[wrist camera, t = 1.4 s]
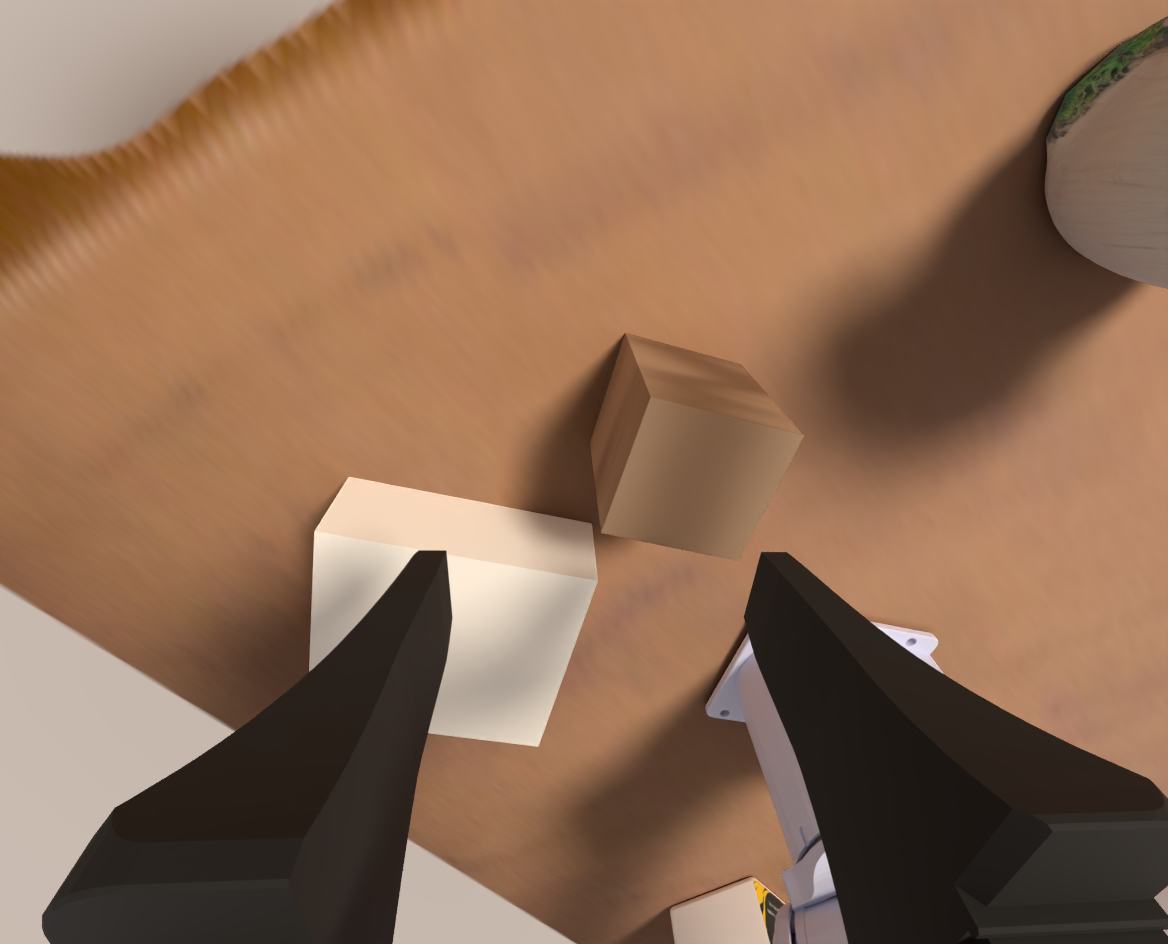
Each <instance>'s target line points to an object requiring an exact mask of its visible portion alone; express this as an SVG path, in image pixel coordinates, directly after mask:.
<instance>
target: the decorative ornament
mask: <svg viewBox="0 0 1168 944" xmlns="http://www.w3.org/2000/svg"><path fill="white" fill-rule="evenodd" d="M1046 146H1047V169H1046V177H1045V197H1046V202H1047V206H1048V210H1049V213H1050V215H1051V218H1052V221H1053V223H1054V225H1055V227H1056V228H1057V230H1058V232H1059V233H1060V234H1061V235H1062V237H1063V238H1064V239H1065V240H1066V242H1067V243H1068V244H1069V245H1070V246H1071V247H1072V248H1074V249H1075V250H1076V251H1077V252H1079V253H1080V254H1081V255H1083V256H1084V257H1086V258H1088V259H1089V260H1091V261H1092V262H1094V263H1096V264H1098V265H1100V266H1102V267H1104V268H1106V269H1108V270H1110V271H1112V272H1115V273H1117V274H1119V275H1121V276H1124V277H1127V278H1130V279H1133V280H1136V281H1140V282H1143V283H1147V284H1150V285H1154V286H1158V287H1163V288H1167V289H1168V17H1166V18H1164V19H1162V20H1160V21H1158V22H1157V23H1155V24H1153V25H1151V26H1150V27H1148V28H1147V29H1145V30H1144V31H1142V32H1140V33H1139V34H1137V35H1136V36H1134V37H1133V38H1131V39H1129V40H1128V41H1125V42H1122V43H1121V44H1120V45H1119V46H1118V47H1117V48H1116V49H1115V50H1114V51H1113V52H1112V53H1110V54H1109V55H1108V56H1107V57H1106V58H1105V59H1104V60H1103V61H1102V62H1101V63H1100V64H1098V65H1097V66H1096V67H1095V68H1094V69H1093V70H1092V71H1091V72H1090V73H1089V74H1087V75H1086V76H1085V77H1084V78H1083V79H1082V80H1081V81H1080V82H1079V83H1078V84H1077V85H1076V86H1075V87H1073V88H1072V89H1071V90H1070V91H1069V92H1068V93H1067V94H1066V95H1065V97H1064V100H1063V102H1062V104H1061V106H1060V109H1059V111H1058V113H1057V115H1056V118H1055V120H1054V122H1053V124H1052V127H1051V129H1050V131H1049V133H1048V136H1047V138H1046Z"/></svg>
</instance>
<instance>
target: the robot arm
mask: <svg viewBox="0 0 1168 944" xmlns="http://www.w3.org/2000/svg"><path fill="white" fill-rule="evenodd" d="M452 619H453V617H452V606H451V595H450V584H449V573H448V563H447V552H446V550H418V551H417V552H416V553H415V554H414V555H413V556H412V558H411V559H410V560H409V562H408V563H407V564H406V566H405V567H404V568H403V570H402V571H401V572H400V574H399V575H398V576H397V578H396V579H395V580H394V581H393V583H392V584H391V585H390V586H389V588H388V589H387V590H386V591H385V593H384V594H383V595H382V596H381V597H380V599H379V600H378V601H377V602H376V603H375V604H374V606H373V607H372V608H371V609H370V610H369V612H368V613H367V614H366V615H365V616H364V617H363V618H362V620H361V621H360V622H359V623H358V624H357V625H356V626H355V627H354V628H353V629H352V630H351V631H350V632H349V633H348V634H347V635H346V637H345V638H344V639H343V640H342V641H341V642H340V643H339V644H338V645H337V646H336V647H335V648H334V649H333V650H332V651H331V652H330V653H329V654H328V655H327V656H326V657H325V658H324V659H323V660H322V661H321V662H320V663H319V664H317V665H316V666H315V667H314V668H313V669H312V670H311V671H310V672H309V673H308V674H306V675H305V676H304V677H303V678H302V679H301V680H300V681H299V682H298V683H296V684H295V685H294V686H293V687H292V688H290V689H289V690H288V691H287V692H286V693H284V694H283V695H282V696H281V697H280V698H278V699H277V700H276V701H275V702H273V703H272V704H271V705H270V706H269V707H267V708H266V709H265V710H263V711H262V712H261V713H260V714H258V715H257V716H256V717H255V718H253V719H252V720H251V721H249V722H248V723H247V724H245V725H244V726H242V727H241V728H240V729H238V730H237V731H235V732H234V733H233V734H231V735H230V736H228V737H227V738H225V739H224V740H223V741H222V742H220V743H218V744H217V745H215V746H214V747H213V748H211V749H210V750H208V751H207V752H205V753H204V754H202V755H201V756H199V757H198V758H196V759H195V760H193V761H191V762H190V763H188V764H187V765H185V766H184V767H182V768H181V769H179V770H178V771H176V772H174V773H172V774H171V775H169V776H168V777H166V778H164V779H162V780H161V781H159V782H158V783H156V784H154V785H153V786H151V787H149V788H148V789H146V790H144V791H143V792H141V793H140V794H138V795H136V796H134V797H133V798H131V799H130V800H128V801H126V802H124V803H123V804H121V805H119V806H117V807H115V809H114V810H113V811H112V812H111V814H110V815H109V817H108V818H107V819H106V821H105V822H104V823H103V824H102V826H101V827H100V828H99V830H98V831H97V833H96V834H95V835H94V836H93V838H92V839H91V841H90V842H89V844H88V845H87V847H86V849H85V850H84V851H83V853H82V855H81V856H80V858H79V859H78V861H77V862H76V864H75V866H74V867H73V868H72V870H71V871H70V873H69V875H68V876H67V878H66V879H65V881H64V882H63V884H62V885H61V887H60V888H59V890H58V892H57V893H56V895H55V896H54V898H53V899H52V901H51V902H50V904H49V906H48V907H47V909H46V910H45V912H44V913H43V915H42V929H43V932H44V934H45V936H46V938H47V939H48V941H49V942H50V944H392V942H393V935H394V928H395V921H396V914H397V906H398V899H399V892H400V885H401V878H402V871H403V864H404V858H405V851H406V845H407V838H408V832H409V825H410V819H411V813H412V807H413V801H414V794H415V788H416V782H417V776H418V772H419V767H420V763H421V758H422V754H423V750H424V746H425V742H426V738H427V735H428V731H429V727H430V723H431V719H432V716H433V712H434V708H435V704H436V700H437V696H438V693H439V689H440V685H441V681H442V677H443V673H444V669H445V665H446V661H447V655H448V648H449V641H450V634H451V626H452ZM744 619H745V623H746V627H747V631H748V633H747V635H746V637H745V639H744V640H743V642H742V644H741V645H740V647H739V649H738V651H737V652H736V654H735V656H734V657H733V659H732V661H731V663H730V664H729V666H728V668H727V669H726V671H725V673H724V675H723V676H722V678H721V680H720V682H719V683H718V685H717V687H716V688H715V690H714V692H713V694H712V695H711V697H710V699H709V700H708V702H707V704H706V706H705V709H706V712H707V715H708V716H710V717H713V718H720V719H726V720H733V721H740V722H746V725H747V728H748V731H749V734H750V737H751V739H752V742H753V745H754V748H755V751H756V754H757V757H758V760H759V763H760V766H761V769H762V772H763V775H764V778H765V781H766V784H767V787H768V790H769V793H770V796H771V799H772V802H773V805H774V808H775V811H776V814H777V817H778V820H779V822H780V825H781V828H782V831H783V834H784V837H785V840H786V843H787V846H788V849H789V852H790V855H791V858H792V861H793V864H794V866H793V867H791V868H789V869H787V870H784V871H783V872H782V877H783V880H784V883H785V886H786V890H787V893H788V896H789V899H790V902H791V903H787V904H784V905H783V906H782V907H781V908H780V909H779V910H778V912H777V915H776V920H775V932H774V936H773V944H1168V936H1167V935H1166V934H1165V932H1164V931H1163V930H1164V929H1166V930H1167V929H1168V915H1167V914H1166V913H1165V911H1164V910H1163V909H1162V908H1161V906H1160V905H1159V904H1158V903H1157V901H1156V900H1155V899H1154V897H1155V896H1156V895H1157V894H1158V893H1159V892H1161V891H1162V890H1163V889H1164V888H1166V887H1167V886H1168V798H1167V797H1166V796H1165V795H1164V794H1163V793H1162V792H1161V791H1160V790H1159V788H1158V787H1157V786H1156V785H1155V784H1154V783H1153V782H1152V781H1151V780H1150V779H1148V778H1146V777H1143V776H1141V775H1139V774H1137V773H1134V772H1132V771H1130V770H1128V769H1125V768H1123V767H1121V766H1118V765H1116V764H1114V763H1112V762H1109V761H1107V760H1105V759H1103V758H1100V757H1098V756H1096V755H1094V754H1091V753H1089V752H1087V751H1084V750H1082V749H1080V748H1078V747H1076V746H1074V745H1071V744H1069V743H1067V742H1065V741H1063V740H1061V739H1059V738H1057V737H1055V736H1053V735H1051V734H1049V733H1047V732H1045V731H1043V730H1041V729H1039V728H1037V727H1035V726H1033V725H1031V724H1029V723H1027V722H1025V721H1024V720H1022V719H1020V718H1018V717H1016V716H1014V715H1012V714H1010V713H1009V712H1007V711H1005V710H1003V709H1001V708H1000V707H998V706H996V705H994V704H993V703H991V702H989V701H987V700H986V699H984V698H982V697H980V696H979V695H977V694H975V693H973V692H972V691H970V690H968V689H967V688H965V687H963V686H962V685H960V684H958V683H957V682H955V681H953V680H952V679H950V678H949V677H947V676H946V675H944V673H943V672H942V671H941V669H940V668H939V667H938V665H937V664H936V663H935V661H934V660H933V659H932V657H931V656H930V654H931V653H932V651H933V650H934V649H935V648H936V646H937V645H938V640H937V639H936V637H935V636H934V635H933V634H931V633H928V632H923V631H917V630H912V629H907V628H902V627H897V626H891V625H886V624H881V623H876V622H871V621H869V620H867V619H866V618H865V617H864V616H862V615H861V614H860V613H859V612H857V611H856V610H855V609H854V608H852V607H851V606H850V605H849V604H848V603H846V602H845V601H844V600H843V599H842V598H841V597H839V596H838V595H837V594H836V593H835V592H833V591H832V590H831V589H830V588H829V587H828V586H826V585H825V584H824V583H823V582H822V581H821V580H819V579H818V578H817V577H816V576H815V575H814V574H812V573H811V572H810V571H809V570H808V569H807V568H805V567H804V566H803V565H802V564H801V563H800V562H798V561H797V560H796V559H795V558H793V557H792V556H791V555H790V554H788V553H787V552H761V555H760V559H759V563H758V566H757V570H756V574H755V578H754V581H753V585H752V589H751V593H750V596H749V600H748V604H747V607H746V611H745V615H744Z"/></svg>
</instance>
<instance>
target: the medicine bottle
mask: <svg viewBox="0 0 1168 944" xmlns="http://www.w3.org/2000/svg"><path fill="white" fill-rule="evenodd" d="M784 904H785V903H784V902H783V901H782V900H781V899H780V898H778V897H777V896H776V895H775V894H774V893H772V892H771V891H770V890H769V889H768V888H766V887H765V886H764V885H763V884H762V883H760V882H759V881H758V880H757V879H756V878H754V877H749V878H746V879H743V880H741V881H738V882H735V883H733V884H730V885H728V886H725V887H722V888H720V889H717V890H715V891H712V892H709V893H707V894H704V895H701V896H699V897H696V898H694V899H691V900H688V901H686V902H683V903H680V904H678V905H675V906H673V907H672V908H671V909H670V916H671V922H672V929H673V935H674V942H675V944H773V936H774V932H775V920H776V915H777V912H778V910H779V909H780V908H781V907H782V906H783V905H784Z"/></svg>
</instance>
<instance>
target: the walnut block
mask: <svg viewBox="0 0 1168 944" xmlns="http://www.w3.org/2000/svg"><path fill="white" fill-rule="evenodd" d="M803 437H804V435H803V434H802V433H801V432H800V431H799V430H798V428H797V427H796V426H795V425H794V424H793V423H792V422H791V420H790V419H789V418H788V417H787V416H786V415H785V414H784V413H783V411H782V410H781V409H780V408H779V407H778V406H777V405H776V403H775V402H774V401H773V400H772V399H771V398H770V397H769V396H768V394H767V393H766V392H765V391H764V390H763V389H762V388H761V386H760V385H759V384H758V383H757V382H756V381H755V380H754V379H753V377H752V376H751V375H750V374H749V373H748V372H747V371H746V369H745V368H744V367H743V366H742V365H741V364H737V363H734V362H730V361H726V360H723V359H719V358H715V357H712V356H708V355H705V354H701V353H697V352H694V351H690V350H686V349H683V348H679V347H675V346H672V345H668V344H664V343H661V342H657V341H653V340H650V339H646V338H642V337H639V336H635V335H631V334H628V333H625V335H624V338H623V341H622V345H621V348H620V351H619V354H618V357H617V360H616V363H615V366H614V369H613V372H612V376H611V379H610V382H609V385H608V388H607V391H606V394H605V397H604V400H603V403H602V407H601V410H600V413H599V416H598V419H597V422H596V425H595V428H594V431H593V434H592V438H591V441H590V448H591V456H592V464H593V472H594V480H595V488H596V496H597V504H598V512H599V520H600V528H601V533H604V534H608V535H613V536H618V537H623V538H628V539H633V540H638V541H643V542H647V543H652V544H657V545H662V546H667V547H672V548H677V549H682V550H686V551H691V552H696V553H701V554H706V555H711V556H716V557H721V558H725V559H730V560H735V561H739V559H740V557H741V555H742V553H743V551H744V550H745V548H746V546H747V544H748V542H749V540H750V538H751V536H752V534H753V532H754V531H755V529H756V527H757V525H758V523H759V521H760V519H761V517H762V515H763V513H764V511H765V510H766V508H767V506H768V504H769V502H770V500H771V498H772V496H773V494H774V492H775V491H776V489H777V487H778V485H779V483H780V481H781V479H782V477H783V475H784V473H785V472H786V470H787V468H788V466H789V464H790V462H791V460H792V458H793V456H794V454H795V453H796V451H797V449H798V447H799V445H800V443H801V441H802V439H803Z"/></svg>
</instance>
